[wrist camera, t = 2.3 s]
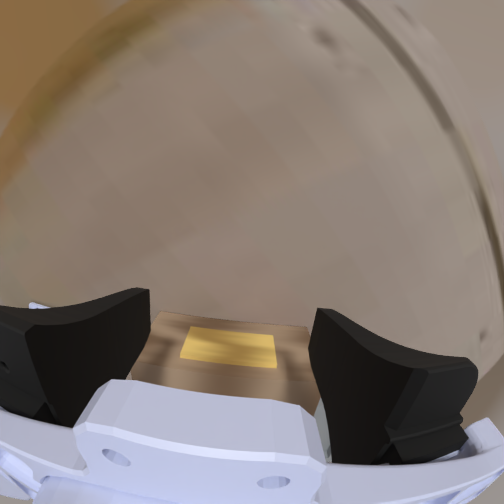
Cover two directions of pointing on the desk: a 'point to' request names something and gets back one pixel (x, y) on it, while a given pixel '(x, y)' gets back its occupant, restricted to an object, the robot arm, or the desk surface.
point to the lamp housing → (229, 359)
